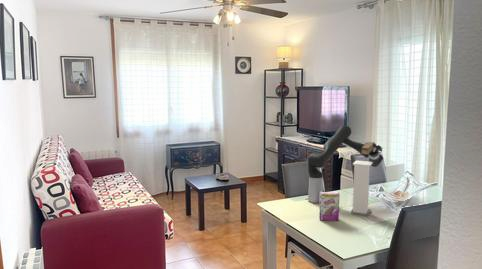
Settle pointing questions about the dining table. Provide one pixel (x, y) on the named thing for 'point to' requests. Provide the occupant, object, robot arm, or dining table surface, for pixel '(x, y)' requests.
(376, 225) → the dining table surface
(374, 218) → the dining table surface
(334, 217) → the candy bar box
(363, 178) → the shelf post
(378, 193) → the dining table surface
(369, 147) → the walnut bar
